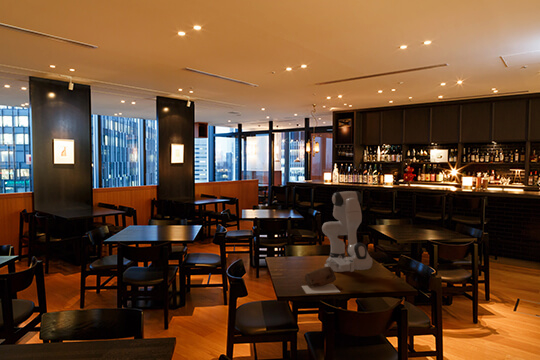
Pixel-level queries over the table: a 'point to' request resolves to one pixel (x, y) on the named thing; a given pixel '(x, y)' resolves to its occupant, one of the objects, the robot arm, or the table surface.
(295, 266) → the table surface
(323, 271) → the block
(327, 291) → the mat
